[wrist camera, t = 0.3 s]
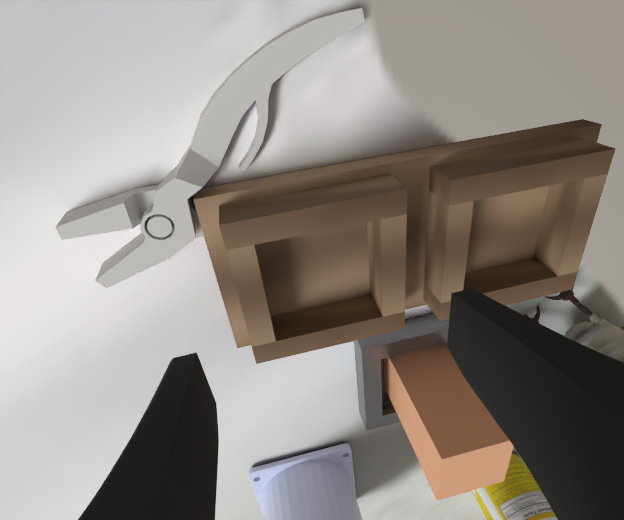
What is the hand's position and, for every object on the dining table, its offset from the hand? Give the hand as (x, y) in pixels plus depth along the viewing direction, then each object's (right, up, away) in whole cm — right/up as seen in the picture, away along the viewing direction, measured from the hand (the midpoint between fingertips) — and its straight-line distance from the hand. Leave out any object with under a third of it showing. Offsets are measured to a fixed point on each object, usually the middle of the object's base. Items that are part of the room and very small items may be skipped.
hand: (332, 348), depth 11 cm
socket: (+6, -5, +16) cm, 18 cm away
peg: (+6, -5, +16) cm, 18 cm away
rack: (+4, +4, +11) cm, 12 cm away
